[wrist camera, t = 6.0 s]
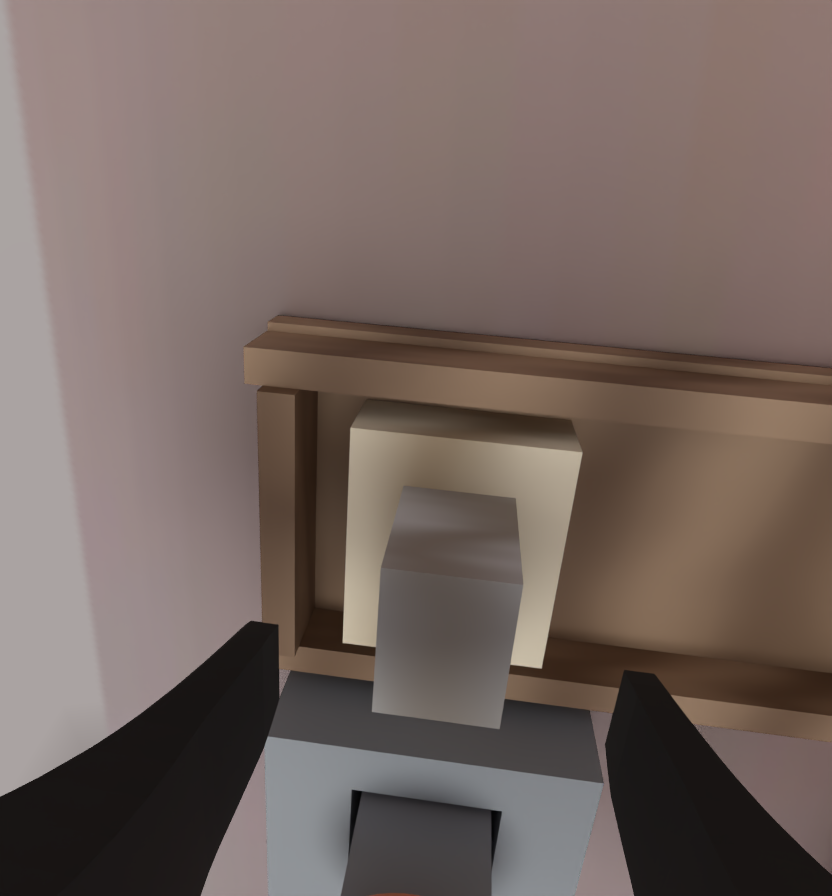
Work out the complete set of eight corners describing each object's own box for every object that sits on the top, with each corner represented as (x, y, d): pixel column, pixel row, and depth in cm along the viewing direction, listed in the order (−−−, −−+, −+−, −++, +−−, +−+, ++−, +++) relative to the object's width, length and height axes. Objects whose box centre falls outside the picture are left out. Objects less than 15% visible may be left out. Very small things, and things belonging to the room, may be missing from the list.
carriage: (571, 420, 19) (610, 530, 13) (536, 618, 21) (554, 784, 15) (366, 399, 19) (311, 496, 13) (357, 595, 22) (308, 749, 16)
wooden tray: (1012, 385, 18) (1127, 429, 15) (874, 689, 22) (940, 775, 19) (277, 315, 19) (236, 341, 16) (281, 614, 24) (248, 682, 20)
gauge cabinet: (580, 663, 23) (603, 783, 18) (546, 818, 26) (559, 954, 22) (307, 628, 24) (264, 736, 19) (306, 783, 27) (268, 908, 22)
